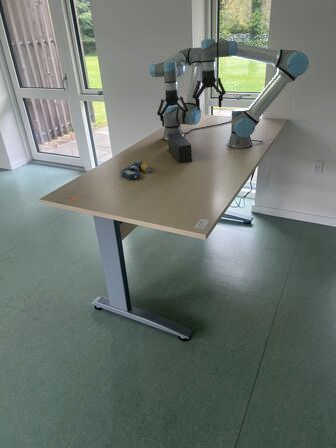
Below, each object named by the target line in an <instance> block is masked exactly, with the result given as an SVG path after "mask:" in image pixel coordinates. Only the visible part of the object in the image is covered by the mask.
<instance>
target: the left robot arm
mask: <svg viewBox="0 0 336 448" xmlns="http://www.w3.org/2000/svg"><path fill="white" fill-rule="evenodd" d="M186 67H190V69H192V70H191V74H190V79H189V85H188V90H187V96H186V100H185V101H184V97H183V96H179V94H178V93H179V92H178V78H179V77H181V76H183V75H184V74H185V73H186ZM202 71H203V70H202V58H201V47H188V48H187V47H186V48H184V49H182V50H179V51H177V52H175V53H174V55H173V56H171V57H169V58H167V59H165V60H163V61H161V62H159V63H152V64H150V66H149V75H150V76H151V77H152V78H164V79H163V80H164V90H165V94H164V95H165V98H160V104H159V106H158V109H157V111H156V115H157V116H159V121H160V122H161V125H162V127H164V130H163V135H162V139H163V140H164V141H167V142H168V135H167V134H173V133H180V134H181V135H182V136H183V137H184V138H185V136H184V134H186V135H187V134H190V132H192V131H195V130H200V129H205V128H210V127H216V126H222V125H226V124H229V123H232V119H231V120H228V121H225V122H221V123H216V124H211V125H207V126H205V125H204V126H200V127H195V128H191V129H190V130H189V131H187V132H185V131H184V132H183V129H182V126H181V125H185V126H196V125H197V124H199V123H200V121H201V118H202V109H201V108H200V111H198V110H197V105H196V103H195V99H194V98H192V95H193V93H194V90H195V88H196V85H197V80H199V81H202ZM202 85H203V84H202V83H201V85H200V87H199V89H198V92H199V90H200V89H201V87H202ZM198 92H197V93H198ZM196 95H197V94H196ZM198 99H200V97H199V98H198ZM179 101H180V102H181V105H180V104H179ZM164 104H165V105H164Z"/></svg>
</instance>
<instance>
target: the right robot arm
mask: <svg viewBox="0 0 336 448" xmlns="http://www.w3.org/2000/svg"><path fill="white" fill-rule="evenodd" d="M200 48H201V58H202V70H203V71H202V81H199V80H197V85H196V88H195V90H194V93H193V95H192V98H194V99H195V103H196V105H197V110H198V111H200V109H201V105H200V104H201V103H200V102H201V101H200V100H201V99H200V97H201V95H202V94H203V92H204V90H205V89H209V88H213V89H214V90H215V91H216V92H217V93H218V94H219V95H218V107H219V108H222V102H223V100H224V95H226V94H227V91H226V90H225V87H224V86H223V83H222V78H220V77H216V70H215V69H216V58H217V59H218V58H228V57H229V58H231V57H233V58H238V59H243V60H247V61H254V62H256V63H262V64H266V65H271V66H272V67H273V68H277V72H276V74H275V75H274V77H272V79H271V80H270V81H269V83H268V84H267V85H266V86H265V87H264V89H263V90H262V91H261V92H260V93H259V95H258V96H257V98H256V99H255V100H254V101H253V103H252V104H251V105H250V106H249V107H248V108H236V109H232V110H231V115H230V116H231V120H232V122H231V127H230V128H231V131H230V136H229V139H228V141H227V142H228V143H227V146H228V147H229V148H234V149H245V148H249V147H251V146H252V145H253V144H252V143H253V142H257V143H263V140H256V139H252V137H251V135H253V134H254V132H255V129H256V127H257V125H258V124H259V123H260V119H261V117H262V116H263V115H264V113H265V112H266V111H267V110H268V108H269V107H270V106H271V105H272V104H273V103H274V101H275V100H276V99H277V98H278V96H279V95H281V93H282V92H283V91H284V90H285V89H286V87H287V86H288V84H290V83H294V82H295V81H296V80H297V79H298V77H300V76H302V75H304V74H305V73H306V71H307V70H308V68H309V66H310V65H309V63H310V62H309V57H308V55H307V54H305V53H304V52H303V51H300V50H295V49H282V48H278V49H277V50H276V49H272V48H266V47H263V46H262V47H261V46H257V45H256V46H255V45H252V44H246V43H242V42H237V40H228V39H222V40H220V41H219V42H218V41H216V40H215V38H205V39H202V40H201V41H200ZM201 83H202V86H201V89H200V90H199V92H198V89H199V87H200V85H201ZM216 83H217V84H218V86H217V84H216ZM197 92H198V93H197ZM196 94H197V95H196ZM198 98H199V99H198Z"/></svg>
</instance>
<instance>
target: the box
mask: <svg viewBox="0 0 336 448" xmlns="http://www.w3.org/2000/svg"><path fill="white" fill-rule="evenodd" d="M167 135H168V141H167V147H168V151H169V152H170V153H171V154H172V156H173V157H174V158H175V160H176V161H177V162H178V163H179V164H183V163H189V162H192V161H193V157H192V143H190V141H188V140H187V138H185V136H184V137H183V136H182V135H181V134H180V133H173V134H167Z"/></svg>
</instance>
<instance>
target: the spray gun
mask: <svg viewBox="0 0 336 448" xmlns="http://www.w3.org/2000/svg"><path fill="white" fill-rule="evenodd" d="M140 169H141V170H142V172H143V171H144V172H145V173H147V174H149V173H150V172H152V166H150V165H149V164H147V162H143V161H142V160H133V161H132V162H131V163H130V164H129V165H127V166H126V167H125V168H123V169H122V170H121V171H120V172H119V177H122V178H127V179H129V180H134V179H138V178H139V177H141V172H140Z"/></svg>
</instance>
